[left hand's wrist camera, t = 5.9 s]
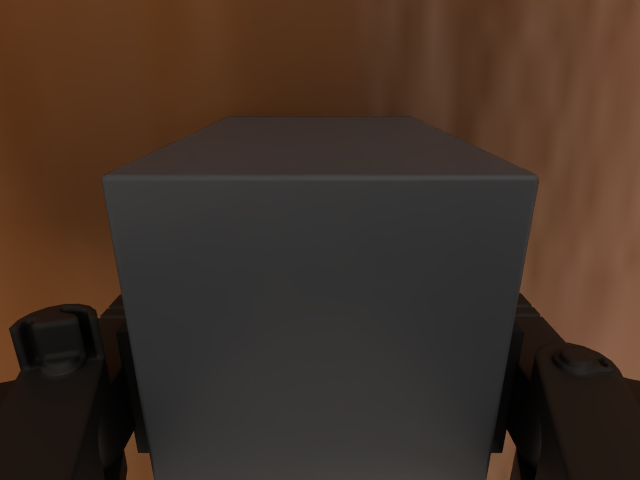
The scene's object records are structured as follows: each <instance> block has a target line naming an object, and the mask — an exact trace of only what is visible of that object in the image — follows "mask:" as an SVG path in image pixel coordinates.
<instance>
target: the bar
mask: <svg viewBox="0 0 640 480" xmlns="http://www.w3.org/2000/svg"><path fill="white" fill-rule="evenodd" d="M538 182H539V180H538V176H537V175H535V174H533V173H531V172H529V171H527V170H525V169H523V168H520V167H518V166H516V165H514V164H512V163H510V162H508V161H505V160H503V159H501V158H499V157H497V156H495V155H493V154H490V153H488V152H486V151H484V150H482V149H480V148H478V147H475V146H473V145H471V144H469V143H467V142H465V141H463V140H461V139H458V138H456V137H454V136H452V135H450V134H448V133H446V132H443V131H441V130H439V129H437V128H435V127H433V126H431V125H428V124H426V123H424V122H422V121H420V120H418V119H416V118H413V117H227V118H225V119H223V120H220V121H218V122H216V123H214V124H212V125H210V126H208V127H205V128H203V129H201V130H199V131H197V132H195V133H193V134H191V135H188V136H186V137H184V138H182V139H180V140H178V141H176V142H173V143H171V144H169V145H167V146H165V147H163V148H161V149H158V150H156V151H154V152H152V153H150V154H148V155H146V156H144V157H141V158H139V159H137V160H135V161H133V162H131V163H129V164H126V165H124V166H122V167H120V168H118V169H116V170H114V171H111V172H109V173H107V174H105V175H103V177H102V185H103V191H104V196H105V202H106V208H107V214H108V219H109V225H110V231H111V236H112V242H113V248H114V253H115V259H116V265H117V271H118V276H119V282H120V288H121V293H122V299H123V305H124V310H125V316H126V322H127V327H128V333H129V339H130V345H131V350H132V356H133V362H134V367H135V373H136V379H137V384H138V390H139V396H140V402H141V407H142V413H143V419H144V424H145V430H146V436H147V441H148V447H149V453H150V459H151V464H152V470H153V476H154V480H486V478H487V472H488V466H489V461H490V455H491V449H492V444H493V438H494V432H495V427H496V421H497V415H498V410H499V404H500V398H501V393H502V387H503V381H504V376H505V370H506V364H507V359H508V353H509V347H510V341H511V336H512V330H513V324H514V319H515V313H516V307H517V302H518V296H519V290H520V285H521V279H522V273H523V268H524V262H525V256H526V251H527V245H528V239H529V234H530V228H531V222H532V216H533V211H534V205H535V199H536V194H537V188H538Z"/></svg>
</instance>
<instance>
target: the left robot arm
mask: <svg viewBox="0 0 640 480" xmlns="http://www.w3.org/2000/svg"><path fill="white" fill-rule="evenodd" d="M9 330H10V334H11V337H12V341H13V344H14V348H15V351H16V355H17V358H18V362H19V366H20V369H21V371H20V373H19V375H18V377H17V378H16V380H13V381H9V382H3V383H0V480H126V475H127V463H126V457H125V452H124V448H125V447H126V445H127V443H128V441H129V439H130V437H131V435H132V433H133V431H134V433H135V439H136V444H137V449H138V453H149V447H148V441H147V436H146V430H145V424H144V419H143V413H142V407H141V402H140V396H139V390H138V384H137V379H136V373H135V367H134V362H133V356H132V350H131V345H130V339H129V333H128V327H127V322H126V316H125V310H124V305H123V299H122V294H121V295H119V296H118V297H117V298H116V300H115V301H114V302H113V303H112V304H111V305H110V306H109V309H107V310H106V311H105V312H104V313H103V314H102V315H101V318H100V319H98V318H97V313H96V310H95V309H93V308H92V307H90V306H88V305H82V304H63V305H57V306H52V307H47V308H44V309H41V310H39V311H36V312H33V313H30V314H29V315H27V316H25V317H23V318H21V319H19V320H18V321H17V322H15V323H14V324H13V325H12V326H11V327H10V328H9ZM506 430H508V432H509V434H510V436H511V438H512V440H513V442H514V444H515V445H516V452H515V457H514V462H513V467H512V472H511V477H510V480H640V381H637V380H632V379H628V378H624V377H623V376H622V374H621V372H620V370H619V369H618V368H617V367H616V366H615V364H614V363H613V362H612V361H611V360H609V359H608V358H606V357H605V356H603V355H602V354H600V353H599V352H596V351H594V350H591V349H589V348H586V347H584V346H580V345H576V344H572V343H566V342H565V341H564V340H563V339H562V338H561V337H560V336H559V335H558V334H557V332H556V331H555V330H554V329H553V328H552V327H551V326H550V325H549V324H548V323H547V321H546V320H545V319H544V318H543V317H540V314H539V313H538V312H537V311H536V309H535V308H534V307H532V305H531V304H530V303H529V302H528V301H527V300H526V298H525V297H524V296H523V295H522V294H521V293H519V296H518V302H517V307H516V313H515V319H514V324H513V330H512V336H511V341H510V347H509V353H508V359H507V364H506V370H505V376H504V381H503V387H502V393H501V398H500V404H499V410H498V415H497V421H496V427H495V432H494V438H493V444H492V449H491V453H502V451H503V446H504V440H505V435H506Z"/></svg>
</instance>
